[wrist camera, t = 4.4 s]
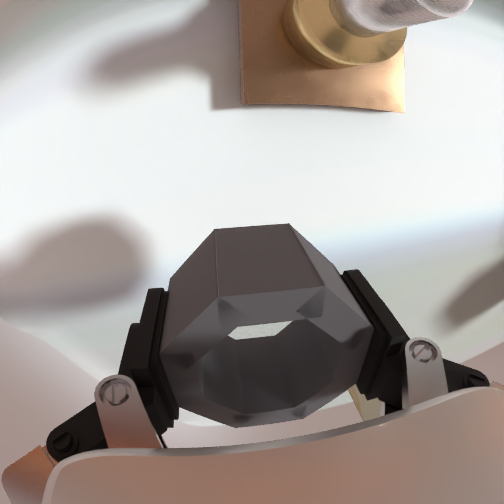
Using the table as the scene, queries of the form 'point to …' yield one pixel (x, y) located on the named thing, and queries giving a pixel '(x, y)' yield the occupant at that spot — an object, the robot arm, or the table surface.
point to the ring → (254, 313)
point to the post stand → (330, 50)
